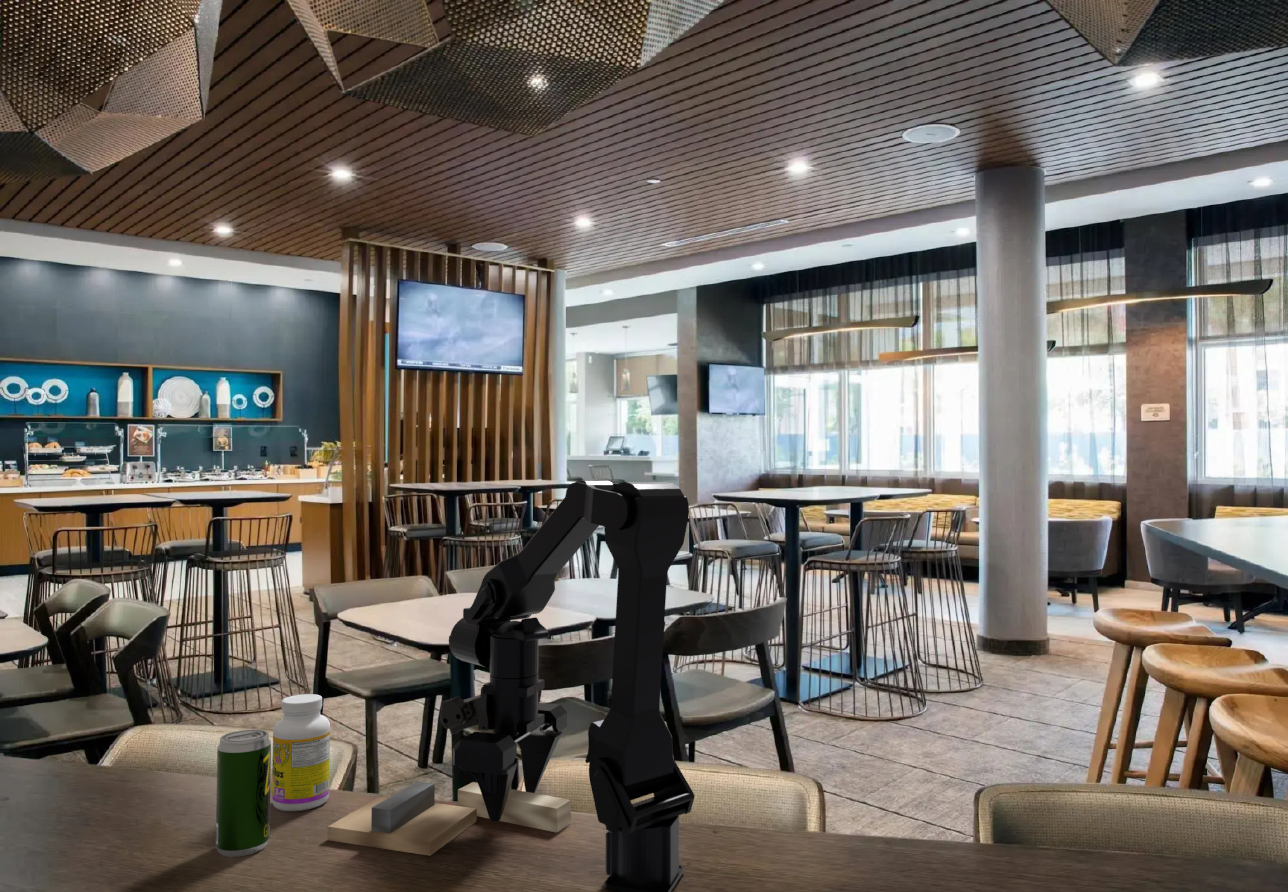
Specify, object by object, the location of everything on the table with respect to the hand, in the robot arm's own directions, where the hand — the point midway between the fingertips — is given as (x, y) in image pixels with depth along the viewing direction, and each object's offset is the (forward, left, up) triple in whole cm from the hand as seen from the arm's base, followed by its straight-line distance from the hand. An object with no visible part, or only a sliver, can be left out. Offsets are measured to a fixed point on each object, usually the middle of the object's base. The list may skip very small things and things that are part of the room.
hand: (513, 806), depth 106 cm
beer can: (+24, +17, -1) cm, 29 cm away
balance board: (+10, +8, -1) cm, 13 cm away
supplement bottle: (+27, +4, -2) cm, 27 cm away
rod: (0, 0, -2) cm, 2 cm away
